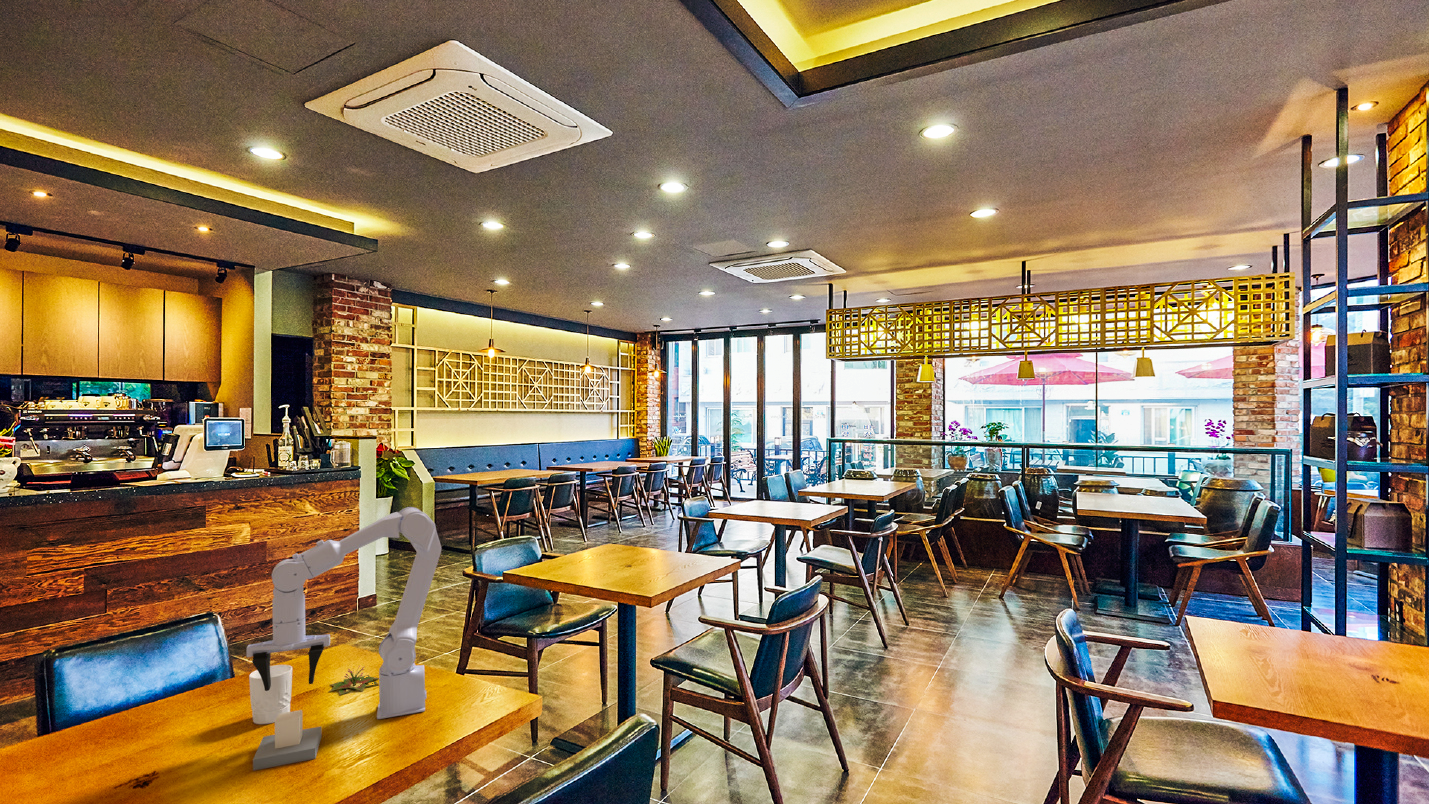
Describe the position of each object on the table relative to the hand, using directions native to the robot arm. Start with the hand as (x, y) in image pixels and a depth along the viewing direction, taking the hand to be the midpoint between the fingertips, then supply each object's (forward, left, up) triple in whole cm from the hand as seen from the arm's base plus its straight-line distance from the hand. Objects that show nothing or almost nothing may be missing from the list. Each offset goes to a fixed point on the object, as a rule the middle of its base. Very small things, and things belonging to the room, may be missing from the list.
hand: (289, 685), depth 141 cm
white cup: (+5, -11, -10) cm, 16 cm away
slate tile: (-1, +9, -10) cm, 13 cm away
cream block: (-1, +9, -8) cm, 12 cm away
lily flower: (-10, -23, -11) cm, 27 cm away
